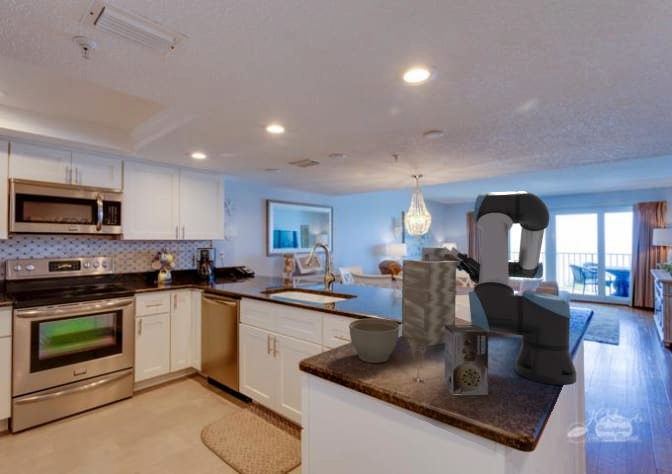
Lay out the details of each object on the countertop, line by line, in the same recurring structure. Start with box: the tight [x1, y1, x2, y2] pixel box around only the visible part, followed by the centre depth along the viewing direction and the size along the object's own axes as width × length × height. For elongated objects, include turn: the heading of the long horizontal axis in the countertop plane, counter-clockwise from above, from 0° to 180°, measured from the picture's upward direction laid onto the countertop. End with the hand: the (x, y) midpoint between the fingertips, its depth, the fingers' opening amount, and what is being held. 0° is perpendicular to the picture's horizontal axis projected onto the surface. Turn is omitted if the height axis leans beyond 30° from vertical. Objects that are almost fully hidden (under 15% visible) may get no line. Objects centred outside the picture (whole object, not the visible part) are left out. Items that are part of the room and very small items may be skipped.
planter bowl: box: [348, 318, 401, 364], centre depth 111 cm, size 16×16×11 cm
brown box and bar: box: [421, 246, 466, 261], centre depth 137 cm, size 20×6×5 cm, turn 118°
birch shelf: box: [401, 258, 460, 347], centre depth 133 cm, size 16×14×30 cm
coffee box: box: [444, 324, 489, 396], centre depth 89 cm, size 9×6×16 cm
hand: (447, 250), depth 137 cm, fingers open, 4 cm apart
